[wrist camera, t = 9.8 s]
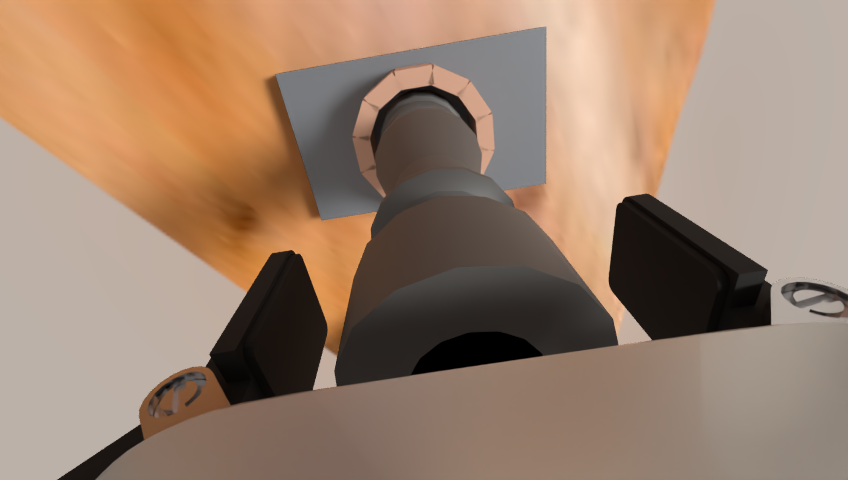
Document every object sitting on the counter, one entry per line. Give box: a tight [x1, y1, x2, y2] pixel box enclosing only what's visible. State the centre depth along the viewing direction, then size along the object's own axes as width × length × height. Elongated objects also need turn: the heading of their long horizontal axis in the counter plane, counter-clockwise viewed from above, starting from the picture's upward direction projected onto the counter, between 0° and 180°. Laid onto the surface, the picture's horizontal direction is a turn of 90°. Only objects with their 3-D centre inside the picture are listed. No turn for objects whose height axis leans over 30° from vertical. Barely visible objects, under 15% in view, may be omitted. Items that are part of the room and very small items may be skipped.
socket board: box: [275, 27, 546, 220], centre depth 29 cm, size 20×12×5 cm, turn 99°
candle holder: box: [335, 90, 618, 387], centre depth 18 cm, size 6×6×25 cm
